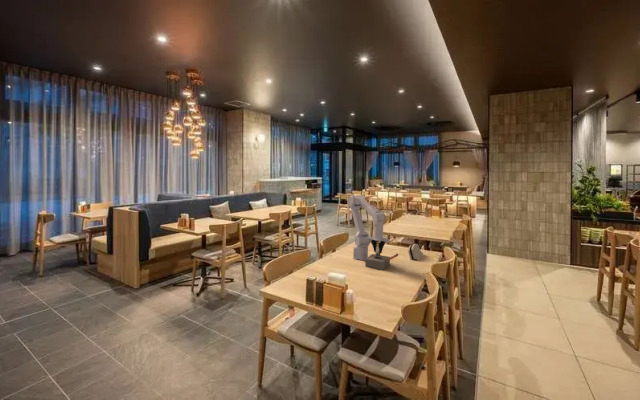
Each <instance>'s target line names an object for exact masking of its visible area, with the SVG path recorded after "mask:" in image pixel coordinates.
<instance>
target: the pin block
mask: <svg viewBox="0 0 640 400" xmlns="http://www.w3.org/2000/svg"><path fill="white" fill-rule="evenodd" d="M390 257H391V256H385V255H381V254H380V256H376V253H375V254H374V253H372V254H370V255H368V258H366V259H365V267H366V268H372V269H377V270H382V271H384V270H386V268H387V267H389V266H390V265H391V260H389V261H387V259H388V258H390Z"/></svg>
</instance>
